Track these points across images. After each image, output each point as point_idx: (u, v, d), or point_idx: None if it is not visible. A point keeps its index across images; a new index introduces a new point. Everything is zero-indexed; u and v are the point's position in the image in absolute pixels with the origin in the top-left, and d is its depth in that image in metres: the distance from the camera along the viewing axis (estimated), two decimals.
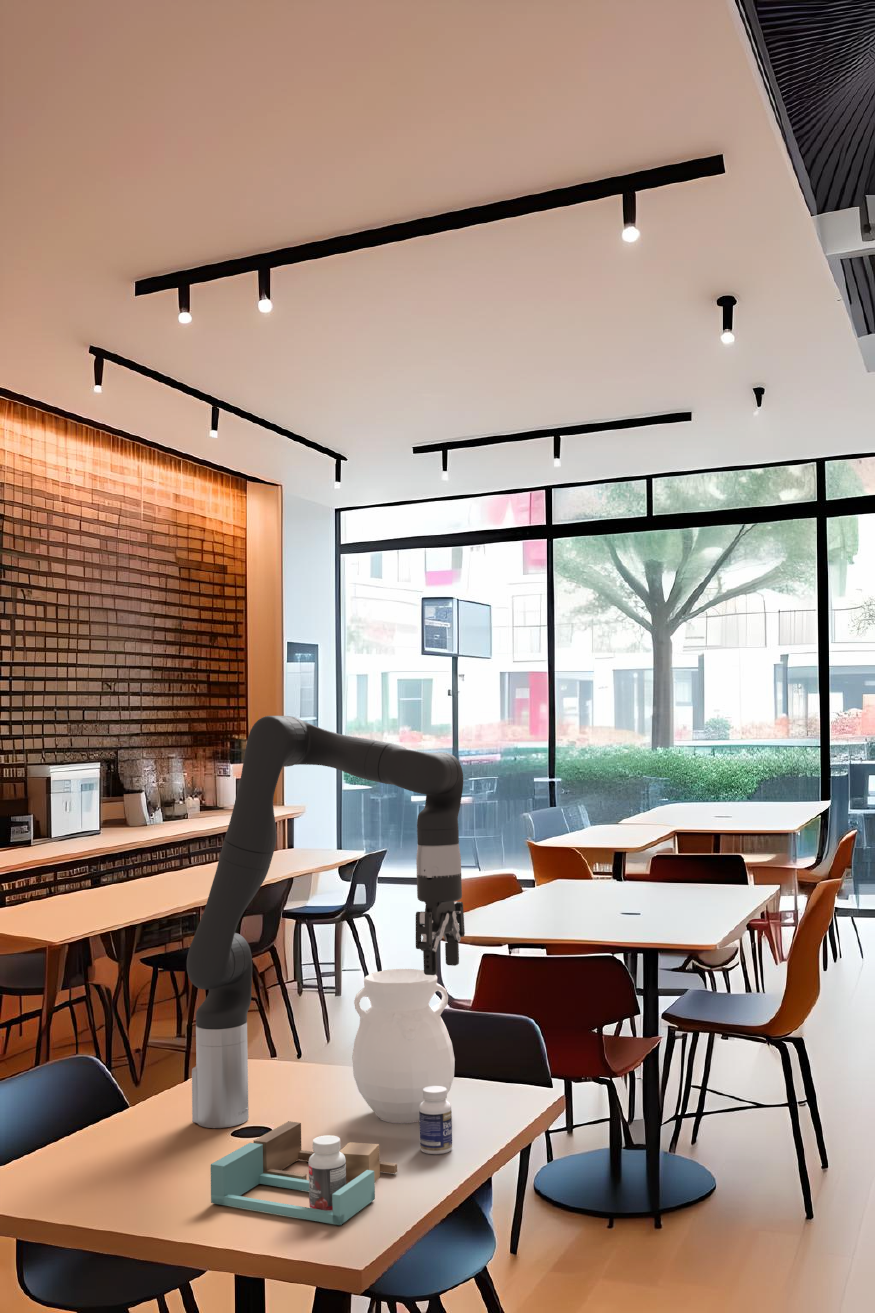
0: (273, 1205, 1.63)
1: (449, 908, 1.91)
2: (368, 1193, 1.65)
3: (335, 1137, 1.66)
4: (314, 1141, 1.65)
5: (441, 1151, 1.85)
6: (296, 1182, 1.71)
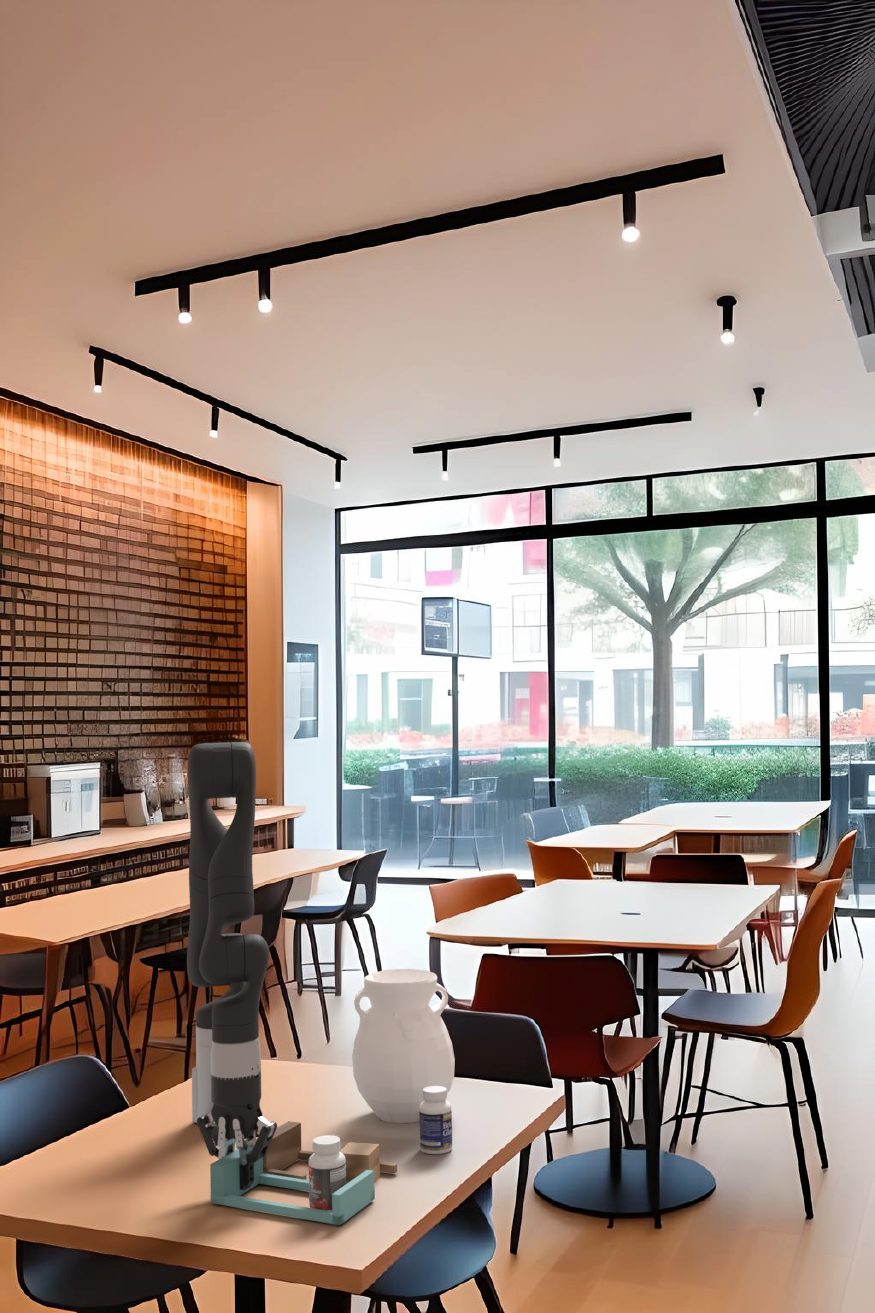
0: (273, 1205, 1.63)
1: None
2: (368, 1193, 1.65)
3: (335, 1137, 1.66)
4: (314, 1141, 1.65)
5: (441, 1151, 1.85)
6: (296, 1182, 1.71)
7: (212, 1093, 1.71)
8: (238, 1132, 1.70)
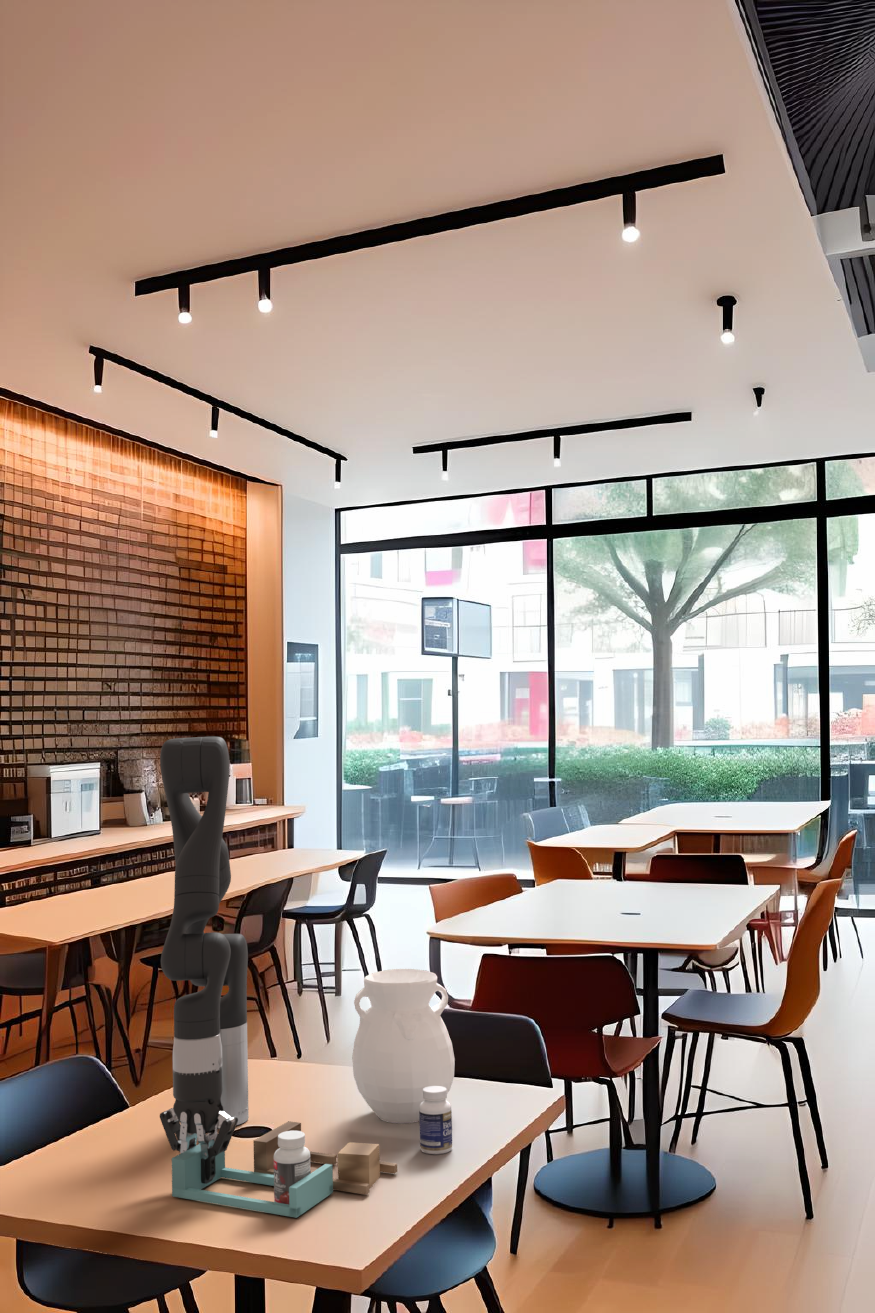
0: (232, 1198, 1.66)
1: None
2: (326, 1186, 1.68)
3: (300, 1132, 1.69)
4: (279, 1136, 1.67)
5: (441, 1151, 1.85)
6: (257, 1176, 1.75)
7: (174, 1088, 1.74)
8: (200, 1127, 1.73)
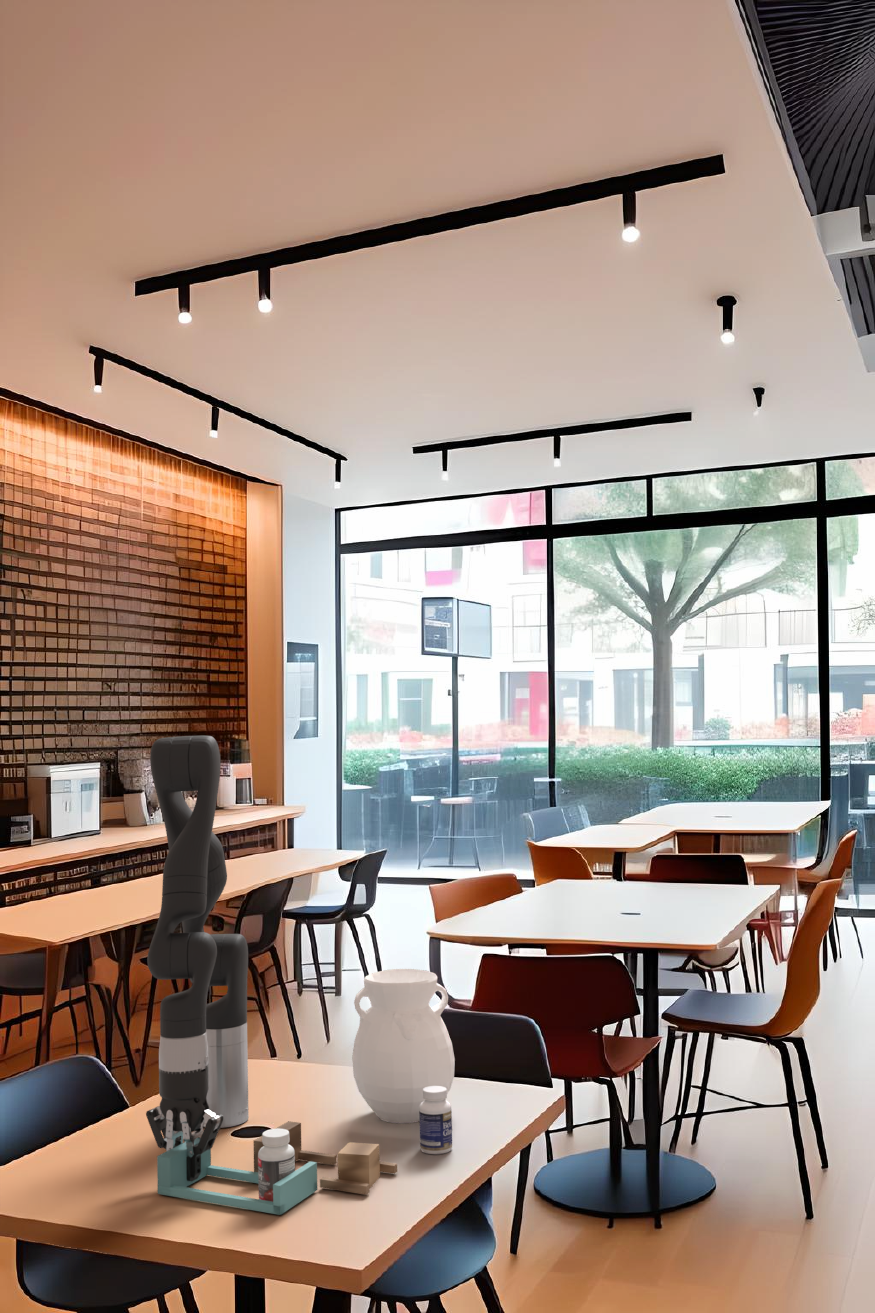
0: (217, 1195, 1.67)
1: None
2: (310, 1184, 1.69)
3: (284, 1130, 1.70)
4: (263, 1134, 1.68)
5: (441, 1151, 1.85)
6: (242, 1174, 1.76)
7: (160, 1087, 1.75)
8: (185, 1125, 1.74)
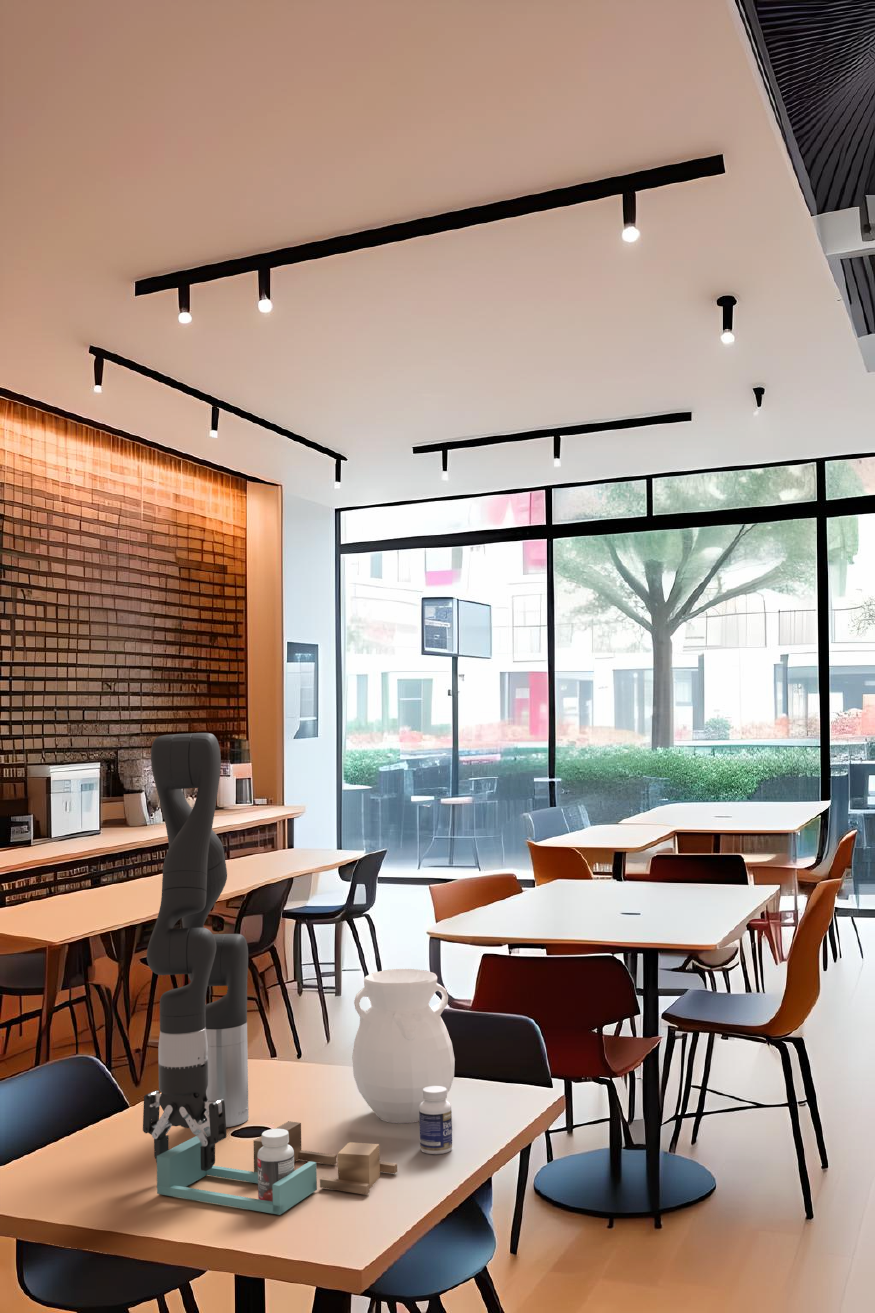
0: (216, 1195, 1.67)
1: None
2: (310, 1184, 1.70)
3: (284, 1130, 1.70)
4: (263, 1134, 1.68)
5: (441, 1151, 1.85)
6: (242, 1174, 1.76)
7: (159, 1082, 1.75)
8: (188, 1118, 1.74)
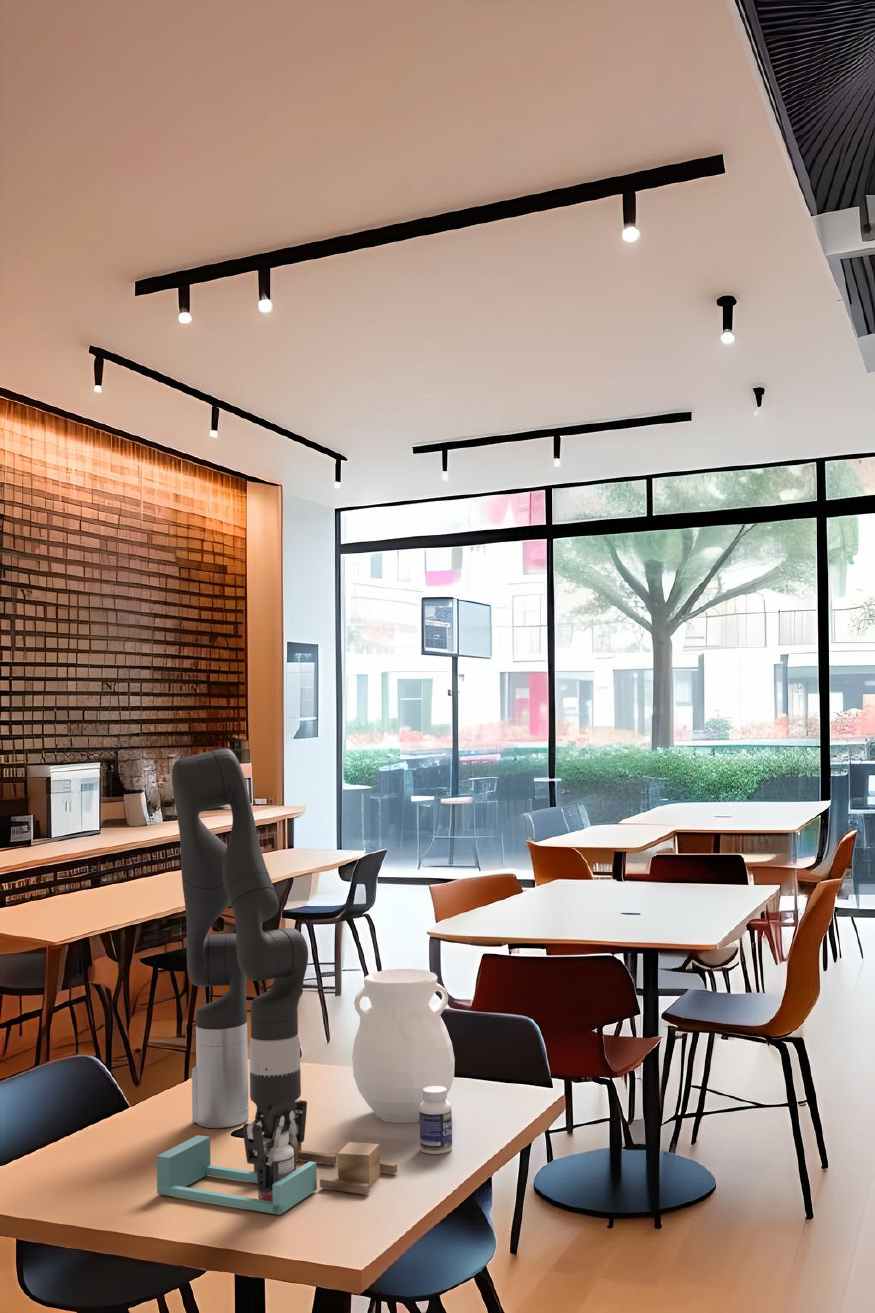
0: (216, 1195, 1.67)
1: None
2: (310, 1184, 1.70)
3: None
4: None
5: (441, 1151, 1.85)
6: (242, 1174, 1.76)
7: (284, 1092, 1.66)
8: (292, 1122, 1.70)
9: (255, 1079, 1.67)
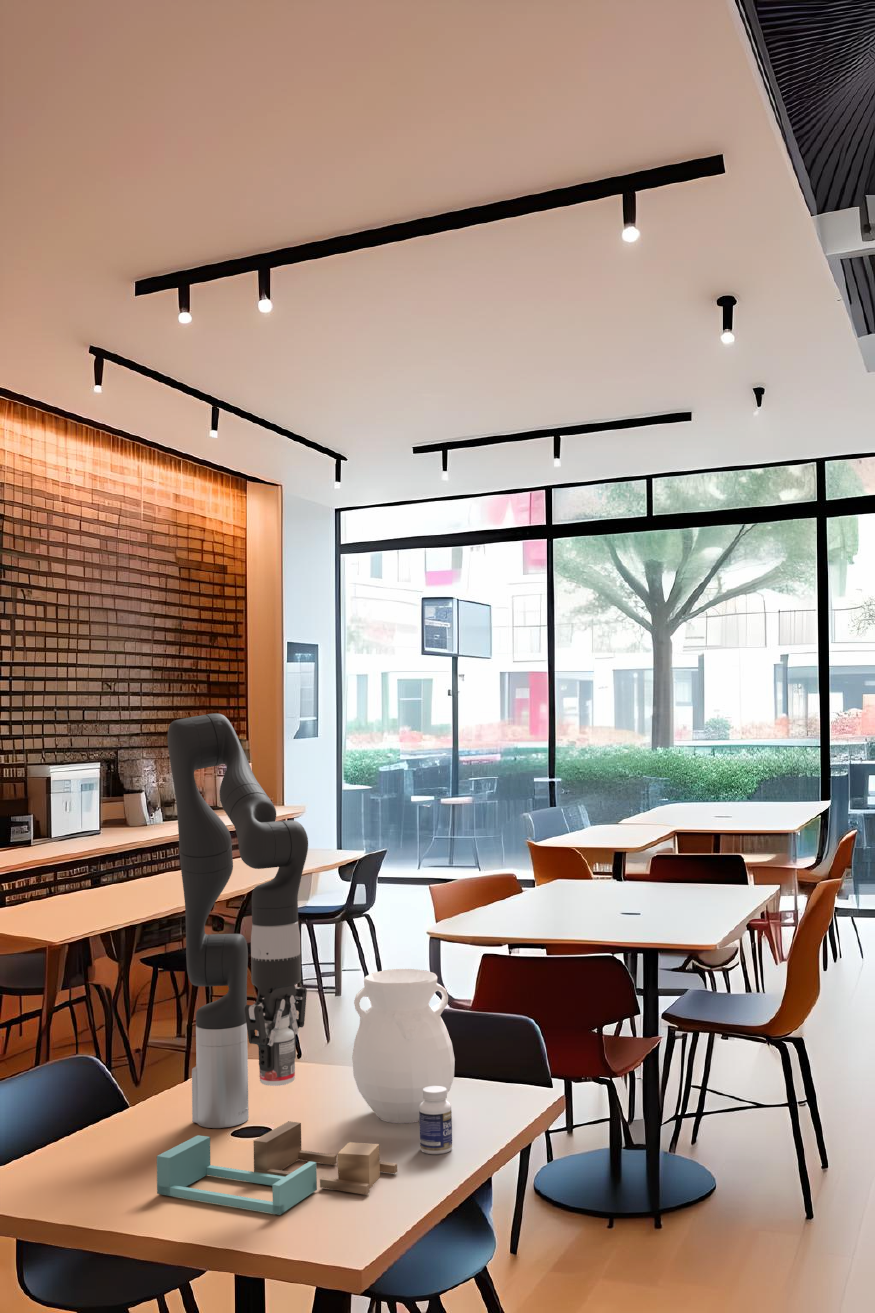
0: (216, 1195, 1.67)
1: None
2: (310, 1184, 1.70)
3: None
4: None
5: (441, 1151, 1.85)
6: (242, 1174, 1.76)
7: (285, 976, 1.71)
8: (293, 1006, 1.75)
9: (256, 963, 1.72)
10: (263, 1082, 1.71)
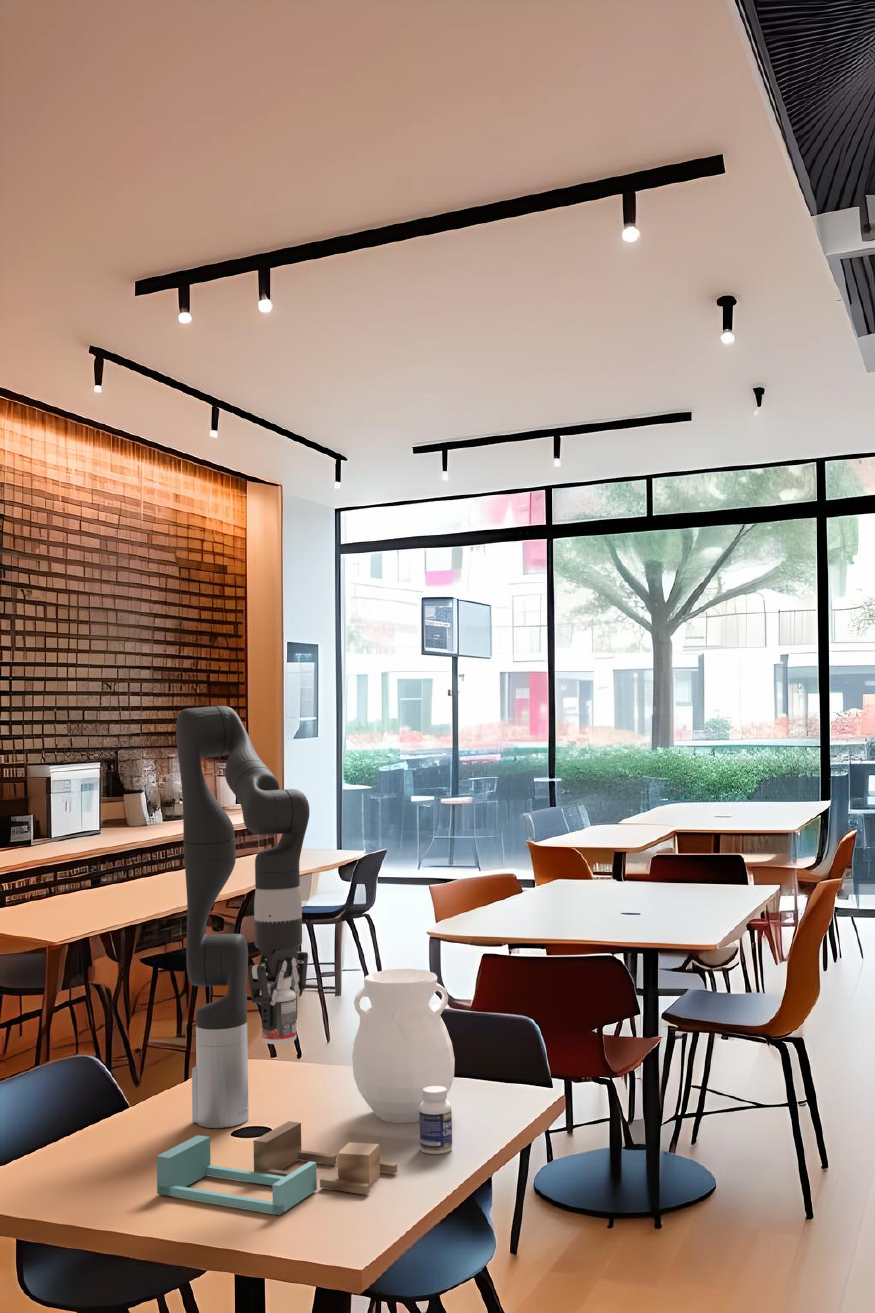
0: (216, 1195, 1.67)
1: None
2: (310, 1184, 1.70)
3: None
4: None
5: (441, 1151, 1.85)
6: (242, 1174, 1.76)
7: (287, 938, 1.77)
8: (294, 969, 1.81)
9: (259, 925, 1.78)
10: (265, 1041, 1.77)
